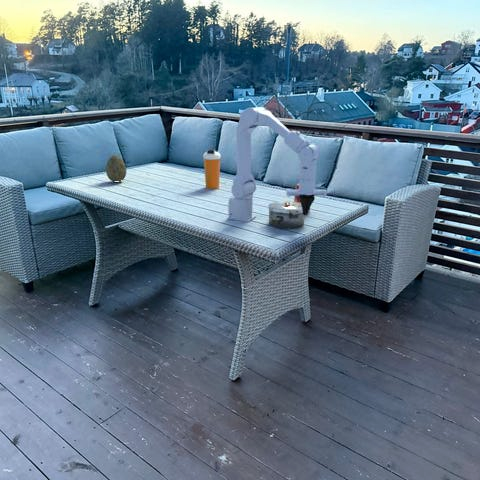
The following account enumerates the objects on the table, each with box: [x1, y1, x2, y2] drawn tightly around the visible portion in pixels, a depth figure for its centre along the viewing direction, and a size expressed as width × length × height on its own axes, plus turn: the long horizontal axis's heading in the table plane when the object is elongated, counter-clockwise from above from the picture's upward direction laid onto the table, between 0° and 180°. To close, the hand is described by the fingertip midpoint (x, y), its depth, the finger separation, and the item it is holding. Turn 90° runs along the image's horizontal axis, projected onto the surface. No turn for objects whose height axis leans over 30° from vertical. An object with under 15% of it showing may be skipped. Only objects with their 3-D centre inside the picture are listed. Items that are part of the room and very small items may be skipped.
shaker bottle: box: [202, 148, 221, 190], centre depth 215 cm, size 9×9×20 cm
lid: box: [267, 200, 303, 218], centre depth 158 cm, size 15×19×2 cm
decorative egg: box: [105, 154, 127, 182], centre depth 226 cm, size 11×11×15 cm
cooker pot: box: [268, 209, 306, 230], centre depth 160 cm, size 14×19×6 cm
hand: (305, 214), depth 153 cm, fingers closed
